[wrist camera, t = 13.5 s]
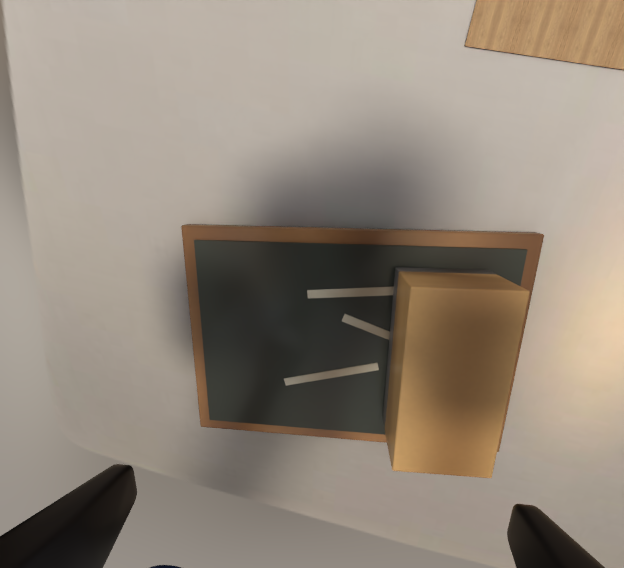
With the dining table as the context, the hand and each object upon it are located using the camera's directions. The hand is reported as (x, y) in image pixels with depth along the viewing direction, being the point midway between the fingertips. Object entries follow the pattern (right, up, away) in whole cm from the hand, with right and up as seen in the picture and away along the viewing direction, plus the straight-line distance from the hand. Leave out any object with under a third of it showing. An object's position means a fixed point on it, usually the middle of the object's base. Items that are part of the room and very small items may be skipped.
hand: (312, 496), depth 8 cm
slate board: (+2, +2, +13) cm, 13 cm away
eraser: (+7, +1, +11) cm, 13 cm away
